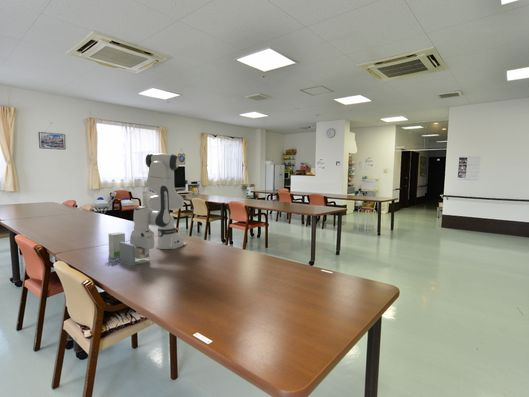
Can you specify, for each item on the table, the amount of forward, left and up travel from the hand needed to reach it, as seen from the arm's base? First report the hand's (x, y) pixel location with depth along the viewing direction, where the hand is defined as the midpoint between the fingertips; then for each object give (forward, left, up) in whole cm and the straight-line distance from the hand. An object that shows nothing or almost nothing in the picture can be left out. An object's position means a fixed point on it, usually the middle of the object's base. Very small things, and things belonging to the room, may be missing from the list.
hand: (142, 253), depth 181 cm
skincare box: (+4, -22, -5) cm, 23 cm away
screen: (+7, -5, -5) cm, 10 cm away
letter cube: (0, 0, -2) cm, 2 cm away
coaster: (0, -1, -5) cm, 5 cm away
